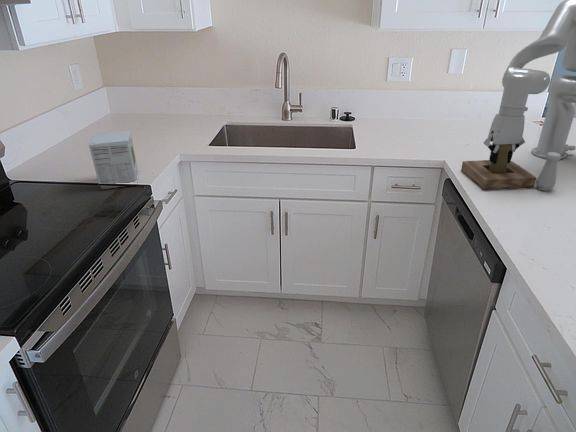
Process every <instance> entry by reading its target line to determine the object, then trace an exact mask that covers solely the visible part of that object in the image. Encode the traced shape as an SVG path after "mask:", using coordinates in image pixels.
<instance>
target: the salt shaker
mask: <svg viewBox="0 0 576 432" xmlns="http://www.w3.org/2000/svg"><path fill="white" fill-rule="evenodd" d="M545 160H546V161H545V163H544V165H543V166H542V169H541V171H540V173H539V175H538V177H537V179H536V182H535V185H536V187H537V189H538V190H539V189H540V190H539V191H541V190H543V191H542V192H550V191H551V190H553V188H555V186H556V184H557V173H558V163H559V162H560V160H562V159H561V155H560V154H559V153H555V152H549V153H547V155H546V158H545ZM549 190H550V191H549Z"/></svg>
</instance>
